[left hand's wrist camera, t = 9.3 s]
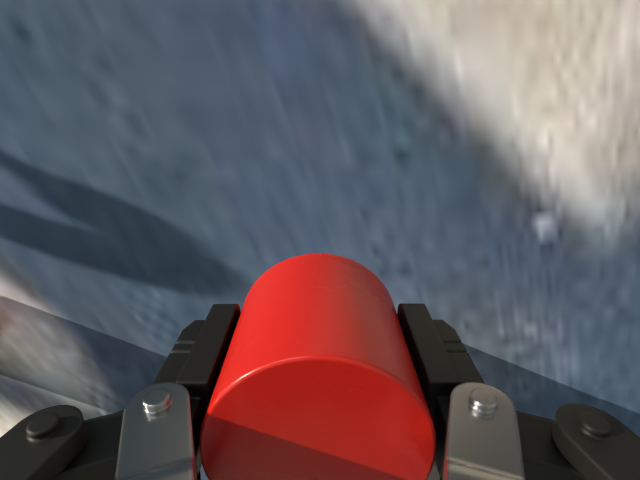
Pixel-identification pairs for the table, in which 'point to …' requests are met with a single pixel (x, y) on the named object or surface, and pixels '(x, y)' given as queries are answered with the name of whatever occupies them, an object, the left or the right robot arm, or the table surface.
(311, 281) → the canister
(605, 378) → the table surface
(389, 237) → the table surface
